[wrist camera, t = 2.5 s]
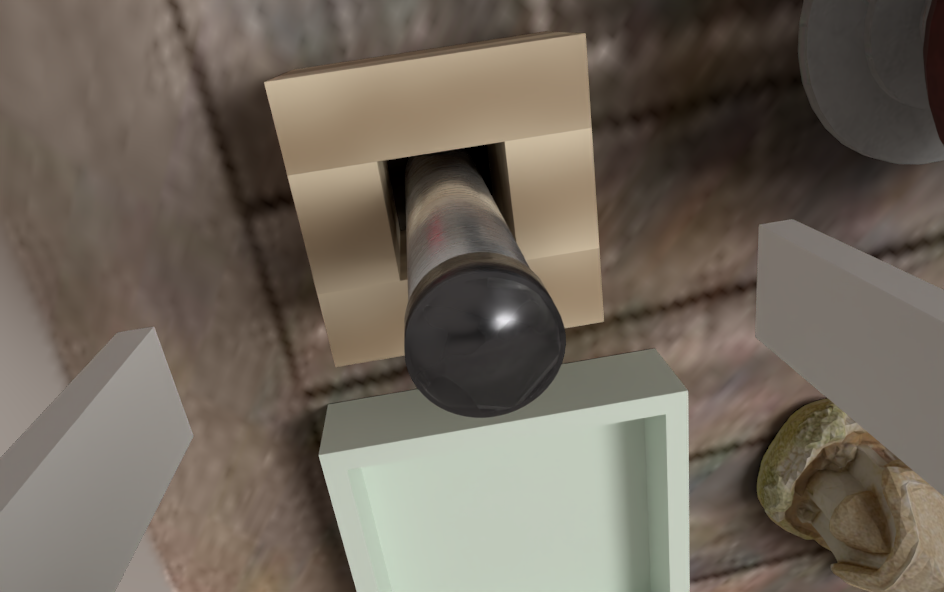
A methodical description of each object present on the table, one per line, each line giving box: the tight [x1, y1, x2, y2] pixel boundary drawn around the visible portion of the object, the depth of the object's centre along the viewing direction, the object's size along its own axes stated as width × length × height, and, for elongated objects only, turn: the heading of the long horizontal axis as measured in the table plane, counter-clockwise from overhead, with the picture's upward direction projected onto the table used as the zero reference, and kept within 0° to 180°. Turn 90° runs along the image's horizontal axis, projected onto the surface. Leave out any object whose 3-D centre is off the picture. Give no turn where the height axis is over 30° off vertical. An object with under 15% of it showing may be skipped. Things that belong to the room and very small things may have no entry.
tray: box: [319, 348, 690, 592], centre depth 33 cm, size 16×16×4 cm
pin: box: [404, 148, 566, 418], centre depth 20 cm, size 3×3×16 cm
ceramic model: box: [757, 398, 944, 592], centre depth 32 cm, size 14×11×10 cm
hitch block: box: [264, 31, 604, 367], centre depth 25 cm, size 10×10×6 cm
